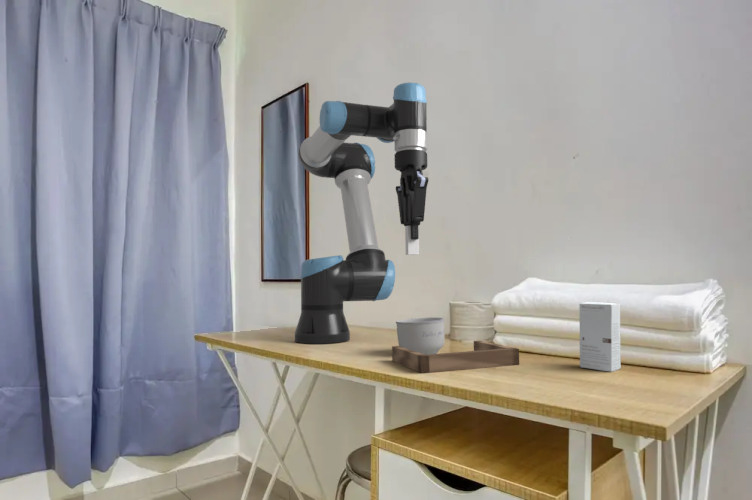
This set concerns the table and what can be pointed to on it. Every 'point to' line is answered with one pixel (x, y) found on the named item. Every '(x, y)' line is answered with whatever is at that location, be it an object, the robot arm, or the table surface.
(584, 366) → the skincare box
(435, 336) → the teacup
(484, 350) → the brown wooden tray
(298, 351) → the table surface
